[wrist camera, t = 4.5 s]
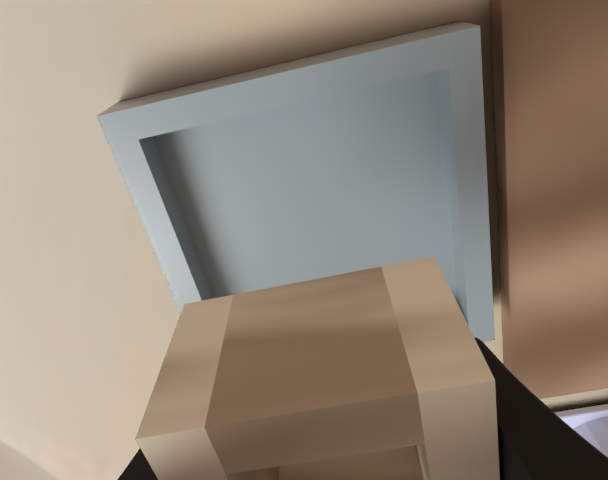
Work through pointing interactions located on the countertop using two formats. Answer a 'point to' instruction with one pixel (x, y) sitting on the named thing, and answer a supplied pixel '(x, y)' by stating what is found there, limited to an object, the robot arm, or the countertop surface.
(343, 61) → the tray
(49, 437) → the countertop surface
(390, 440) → the hollow wooden block
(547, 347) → the stake board
